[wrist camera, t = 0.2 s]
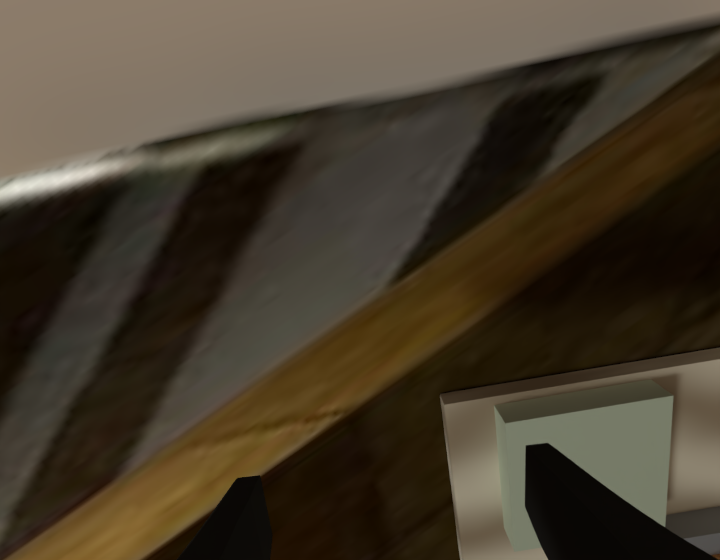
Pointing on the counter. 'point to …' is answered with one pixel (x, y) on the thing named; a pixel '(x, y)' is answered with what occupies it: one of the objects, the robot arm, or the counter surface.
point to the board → (476, 406)
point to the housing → (716, 556)
